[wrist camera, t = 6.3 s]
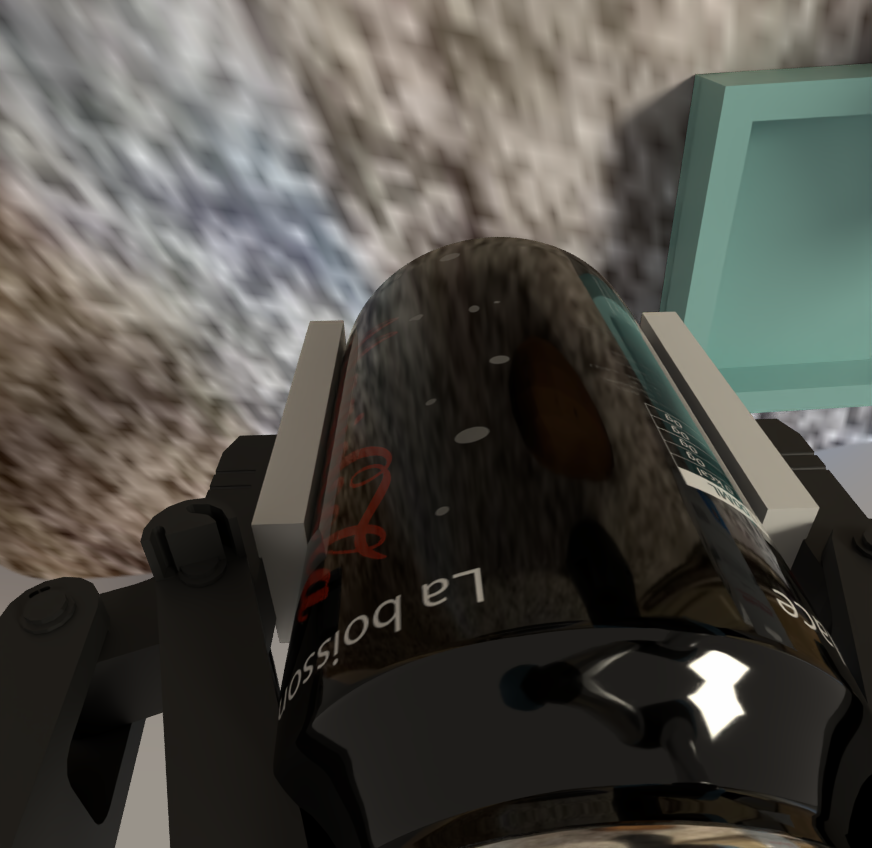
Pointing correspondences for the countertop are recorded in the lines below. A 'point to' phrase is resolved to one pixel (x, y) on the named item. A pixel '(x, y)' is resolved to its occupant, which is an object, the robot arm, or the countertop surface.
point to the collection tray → (778, 234)
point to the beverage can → (548, 594)
